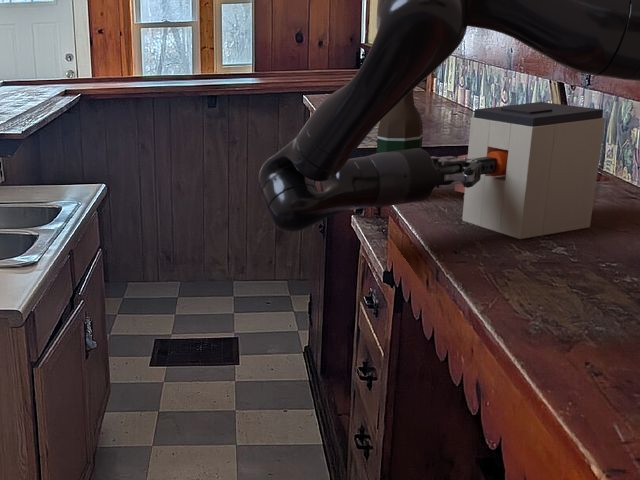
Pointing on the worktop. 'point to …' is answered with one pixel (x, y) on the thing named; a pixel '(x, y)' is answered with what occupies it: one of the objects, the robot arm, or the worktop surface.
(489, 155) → the power button
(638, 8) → the robot arm
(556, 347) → the worktop surface
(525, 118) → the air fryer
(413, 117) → the beer bottle
